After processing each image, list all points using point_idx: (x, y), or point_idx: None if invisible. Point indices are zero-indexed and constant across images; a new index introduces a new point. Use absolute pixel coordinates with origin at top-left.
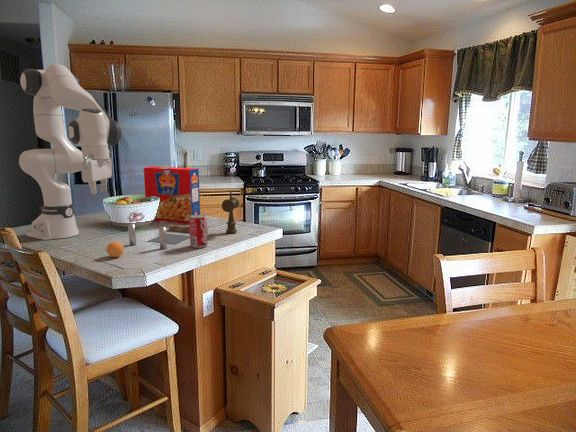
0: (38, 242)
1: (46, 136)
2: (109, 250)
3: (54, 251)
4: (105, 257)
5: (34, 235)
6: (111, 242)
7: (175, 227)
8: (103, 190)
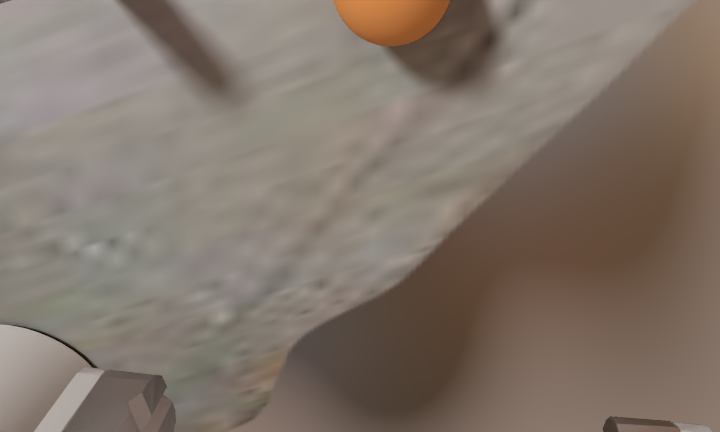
0: None
1: None
2: (446, 9)
3: (291, 324)
4: None
5: None
6: (393, 19)
7: None
8: (158, 401)
